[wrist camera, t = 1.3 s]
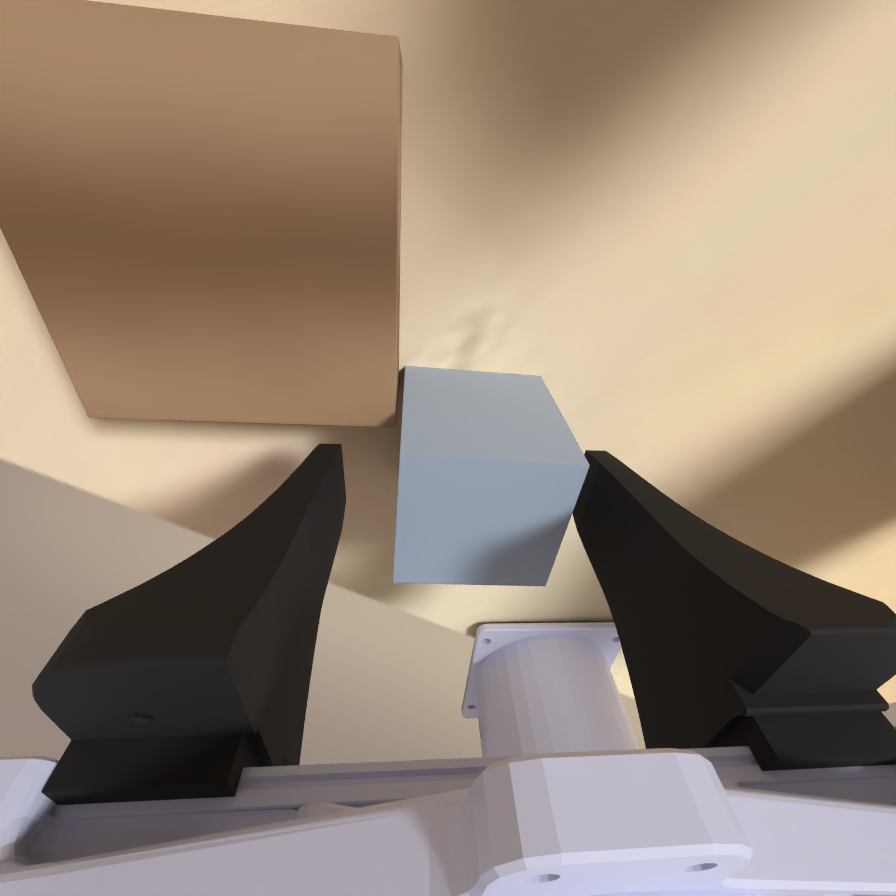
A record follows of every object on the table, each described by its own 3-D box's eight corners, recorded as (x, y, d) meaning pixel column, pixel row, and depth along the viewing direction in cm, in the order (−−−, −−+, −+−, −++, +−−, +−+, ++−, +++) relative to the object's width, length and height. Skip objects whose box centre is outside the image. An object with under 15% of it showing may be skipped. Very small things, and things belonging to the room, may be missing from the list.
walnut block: (399, 380, 14) (395, 427, 12) (147, 369, 14) (88, 417, 11) (402, 65, 10) (397, 36, 7) (27, 23, 9) (-116, -24, 7)
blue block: (514, 480, 17) (545, 586, 13) (399, 474, 16) (393, 583, 12) (540, 375, 14) (590, 465, 10) (405, 365, 14) (399, 455, 10)
